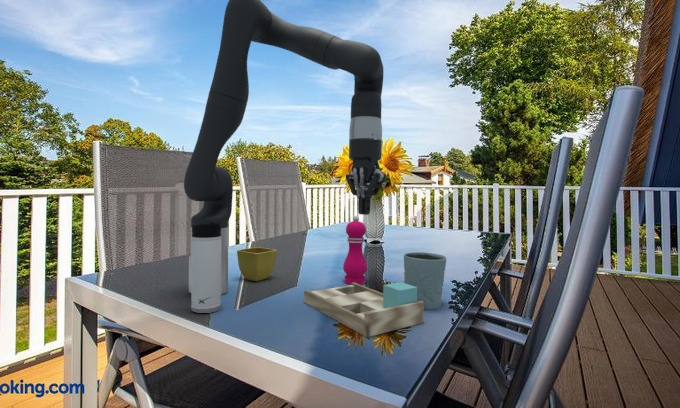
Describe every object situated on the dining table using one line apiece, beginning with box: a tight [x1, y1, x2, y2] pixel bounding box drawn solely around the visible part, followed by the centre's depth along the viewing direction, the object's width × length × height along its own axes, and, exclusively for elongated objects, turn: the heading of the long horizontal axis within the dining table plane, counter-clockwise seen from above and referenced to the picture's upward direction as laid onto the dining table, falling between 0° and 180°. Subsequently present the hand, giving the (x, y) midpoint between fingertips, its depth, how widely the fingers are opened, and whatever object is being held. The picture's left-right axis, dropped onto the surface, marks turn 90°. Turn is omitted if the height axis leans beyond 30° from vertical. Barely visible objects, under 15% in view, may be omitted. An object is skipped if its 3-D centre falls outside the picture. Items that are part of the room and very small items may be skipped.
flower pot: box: [236, 246, 278, 282], centre depth 111 cm, size 9×9×9 cm
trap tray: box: [303, 283, 425, 338], centre depth 83 cm, size 15×25×4 cm, turn 33°
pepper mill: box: [342, 215, 368, 285], centre depth 109 cm, size 7×7×20 cm
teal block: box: [382, 281, 417, 309], centre depth 77 cm, size 5×5×5 cm
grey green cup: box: [403, 251, 448, 311], centre depth 89 cm, size 10×10×12 cm
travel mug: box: [190, 222, 222, 314], centre depth 82 cm, size 6×7×20 cm
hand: (364, 214), depth 84 cm, fingers closed
